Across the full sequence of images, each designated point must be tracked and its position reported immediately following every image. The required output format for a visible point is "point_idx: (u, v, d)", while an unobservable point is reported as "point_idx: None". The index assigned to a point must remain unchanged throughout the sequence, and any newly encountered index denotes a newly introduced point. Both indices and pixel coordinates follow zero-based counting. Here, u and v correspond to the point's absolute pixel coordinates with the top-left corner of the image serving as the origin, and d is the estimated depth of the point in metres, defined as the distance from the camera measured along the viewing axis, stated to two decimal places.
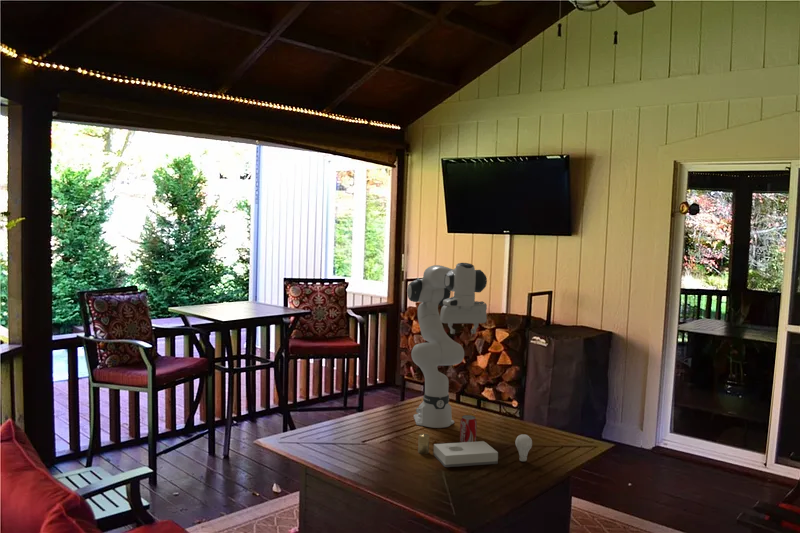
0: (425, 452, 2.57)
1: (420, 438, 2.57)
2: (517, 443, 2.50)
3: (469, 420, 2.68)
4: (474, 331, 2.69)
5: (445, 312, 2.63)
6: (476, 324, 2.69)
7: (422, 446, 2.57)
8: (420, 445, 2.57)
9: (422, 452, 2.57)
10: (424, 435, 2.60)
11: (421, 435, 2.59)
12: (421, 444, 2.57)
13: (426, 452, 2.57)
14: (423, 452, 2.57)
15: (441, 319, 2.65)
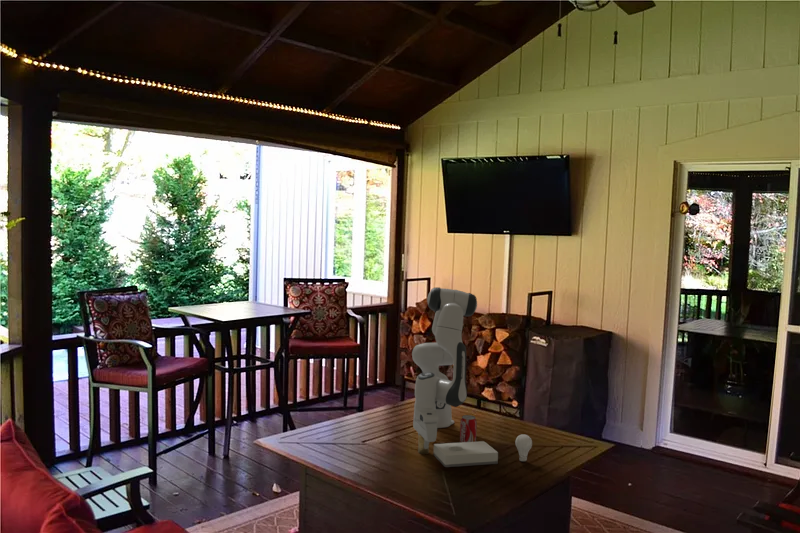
0: (425, 452, 2.57)
1: (420, 438, 2.57)
2: (517, 443, 2.50)
3: (469, 420, 2.68)
4: None
5: None
6: None
7: (422, 446, 2.57)
8: (420, 445, 2.57)
9: (422, 452, 2.57)
10: None
11: None
12: (421, 444, 2.57)
13: (426, 452, 2.57)
14: (423, 452, 2.57)
15: (432, 438, 2.49)
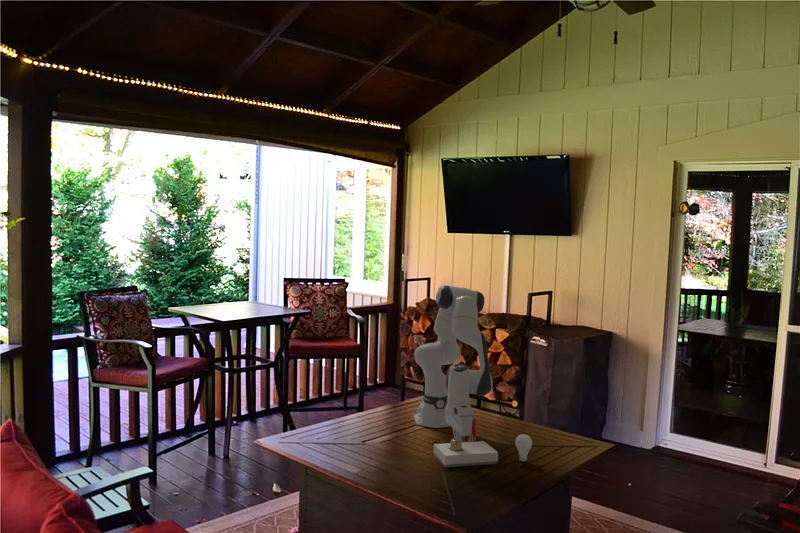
0: None
1: (453, 443, 2.49)
2: (517, 443, 2.50)
3: None
4: None
5: None
6: None
7: None
8: (453, 450, 2.50)
9: None
10: None
11: (453, 440, 2.51)
12: (454, 449, 2.49)
13: None
14: None
15: (467, 432, 2.41)
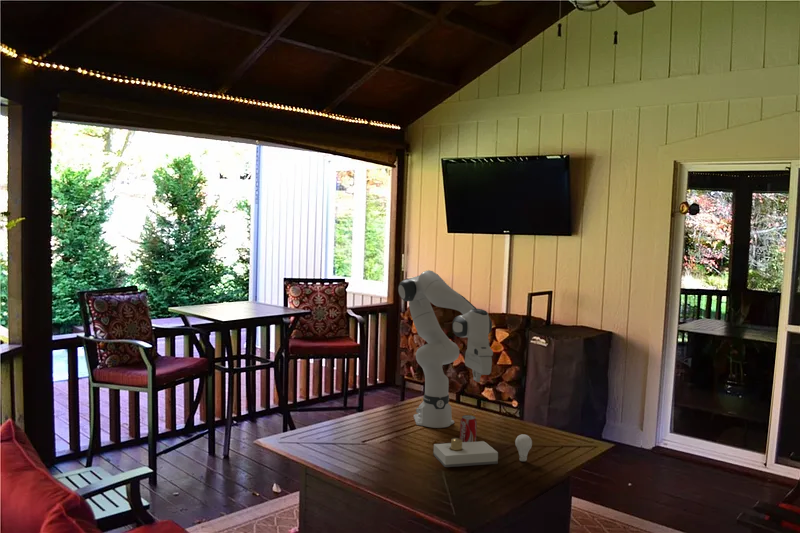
0: None
1: (454, 442, 2.50)
2: (517, 443, 2.50)
3: (469, 420, 2.68)
4: None
5: None
6: None
7: None
8: (453, 450, 2.50)
9: None
10: (456, 439, 2.52)
11: (454, 439, 2.51)
12: (455, 449, 2.49)
13: None
14: None
15: (487, 371, 2.53)
